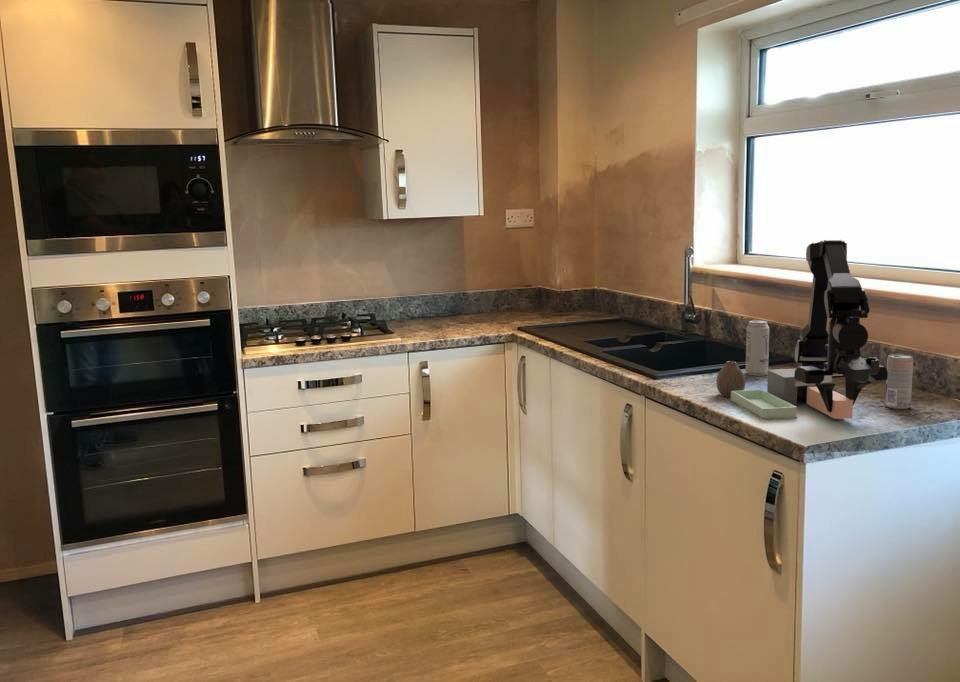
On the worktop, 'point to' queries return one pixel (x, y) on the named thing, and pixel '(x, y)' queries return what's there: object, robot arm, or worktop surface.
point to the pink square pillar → (840, 405)
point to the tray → (764, 404)
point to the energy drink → (899, 381)
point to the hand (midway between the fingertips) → (839, 411)
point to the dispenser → (786, 385)
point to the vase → (730, 379)
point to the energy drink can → (757, 348)
